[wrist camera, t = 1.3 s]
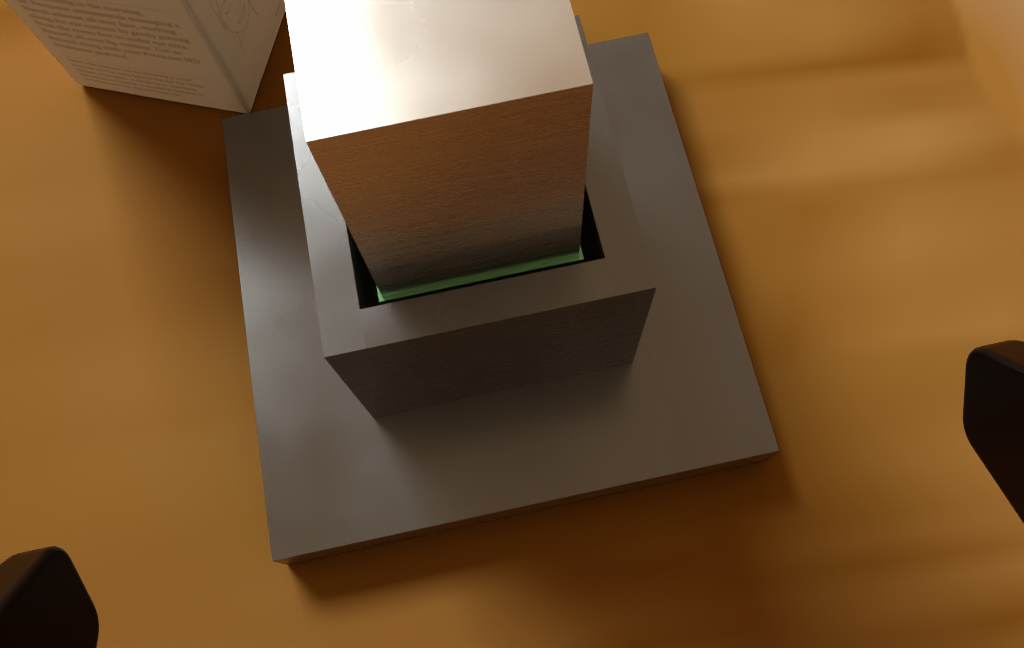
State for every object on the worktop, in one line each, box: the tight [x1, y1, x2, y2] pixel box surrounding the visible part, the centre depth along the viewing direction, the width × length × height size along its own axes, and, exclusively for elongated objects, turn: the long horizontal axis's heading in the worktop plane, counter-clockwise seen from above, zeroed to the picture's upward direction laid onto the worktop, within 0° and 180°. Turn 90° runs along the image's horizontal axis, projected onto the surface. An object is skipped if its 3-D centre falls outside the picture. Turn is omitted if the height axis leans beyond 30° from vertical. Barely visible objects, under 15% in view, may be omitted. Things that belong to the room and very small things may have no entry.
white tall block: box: [285, 0, 593, 305], centre depth 17 cm, size 4×4×10 cm
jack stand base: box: [222, 15, 779, 565], centre depth 21 cm, size 12×12×6 cm
